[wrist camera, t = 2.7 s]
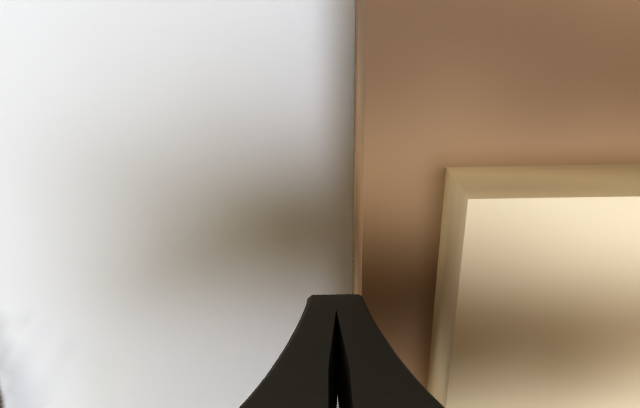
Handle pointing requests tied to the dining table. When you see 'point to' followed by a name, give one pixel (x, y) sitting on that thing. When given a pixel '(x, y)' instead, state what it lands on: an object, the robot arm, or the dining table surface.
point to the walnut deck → (473, 124)
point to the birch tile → (538, 288)
